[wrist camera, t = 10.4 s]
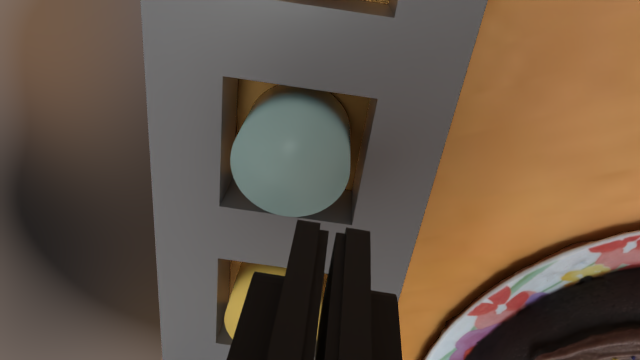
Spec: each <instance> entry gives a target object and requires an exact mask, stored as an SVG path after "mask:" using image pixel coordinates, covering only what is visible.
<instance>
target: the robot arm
mask: <svg viewBox="0 0 640 360" xmlns="http://www.w3.org/2000/svg"><path fill="white" fill-rule="evenodd" d="M320 225H321V223H316V222H310V221H304V220H297V223H296V228H295V233H294V237H293V242H292V246H291V251H290V255H289V260H288V264H287V269H286V273H285V276H280V275H274V274H268V273H262V272H254V273H253V276H252V278H251V282H250V285H249V288H248V291H247V295H246V298H245V301H244V304H243V308H242V311H241V314H240V317H239V321H238V324H237V327H236V330H235V334H234V337H233V340H232V343H231V346H230V350H229V353H228V356H227V359H226V360H314V356H315V360H402V351H401V338H400V325H399V312H398V301H397V296H396V294H392V293H386V292H379V291H373V290H371V242H370V231H366V230H360V229H354V228H348V227H347V228H346V230H345V233H339V232H336V236H335V241H334V246H333V251H332V256H331V261H330V267H329V272H328V277H327V282H326V288H325V293H324V298H323V303H322V308H321V314H320V320H319V313H320V304H321V295H322V287H323V278H324V270H325V261H326V253H327V244H328V235H329V231H326V230H320ZM318 321H319V327H318ZM317 330H318V336H317ZM316 338H317V344H316ZM315 347H316V353H315Z"/></svg>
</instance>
